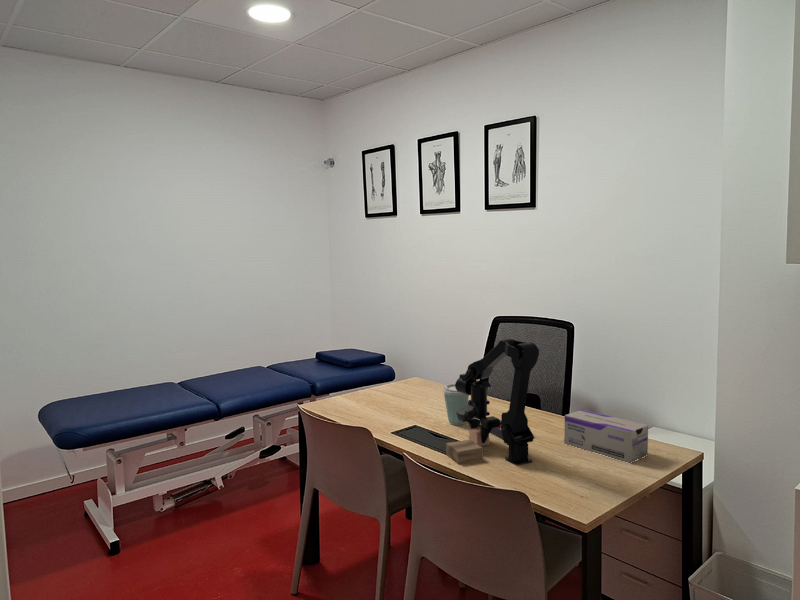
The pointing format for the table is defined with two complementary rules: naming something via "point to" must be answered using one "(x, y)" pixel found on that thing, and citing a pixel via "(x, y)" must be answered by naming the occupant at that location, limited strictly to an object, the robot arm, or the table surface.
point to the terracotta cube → (477, 437)
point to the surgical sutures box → (606, 435)
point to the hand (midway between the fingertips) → (479, 440)
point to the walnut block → (464, 451)
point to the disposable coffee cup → (454, 403)
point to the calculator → (499, 432)
